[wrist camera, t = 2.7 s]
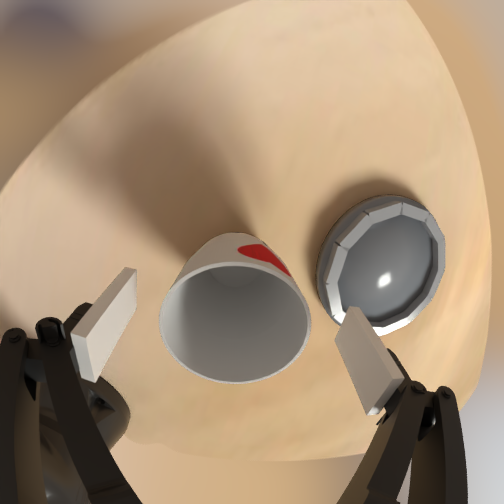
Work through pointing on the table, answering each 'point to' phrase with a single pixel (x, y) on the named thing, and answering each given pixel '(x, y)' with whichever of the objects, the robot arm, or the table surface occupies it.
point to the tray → (381, 262)
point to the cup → (235, 312)
